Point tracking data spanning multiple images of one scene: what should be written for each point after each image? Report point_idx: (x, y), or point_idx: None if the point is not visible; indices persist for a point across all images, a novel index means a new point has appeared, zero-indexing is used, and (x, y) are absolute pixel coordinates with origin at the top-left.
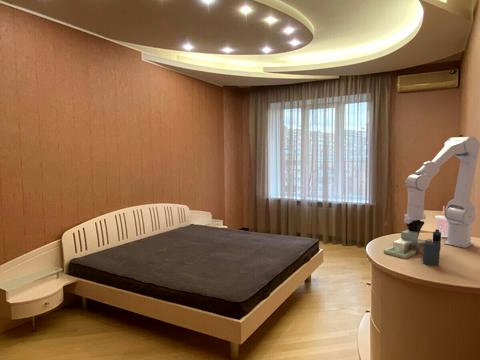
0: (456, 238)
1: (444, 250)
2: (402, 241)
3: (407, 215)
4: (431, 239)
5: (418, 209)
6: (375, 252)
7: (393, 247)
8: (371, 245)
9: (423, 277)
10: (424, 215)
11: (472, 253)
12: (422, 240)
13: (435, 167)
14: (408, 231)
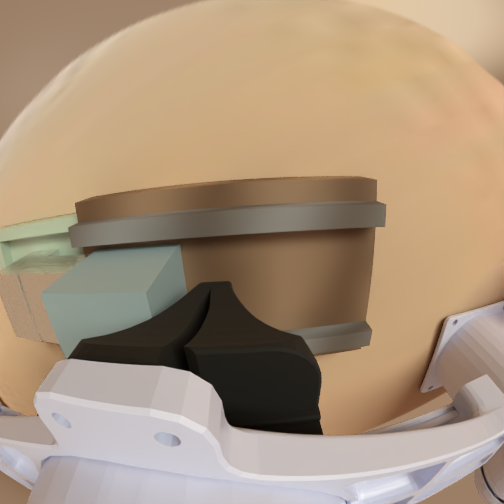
0: (451, 384)
1: (324, 378)
2: (34, 311)
3: (42, 468)
4: (362, 345)
5: None
6: None
7: (17, 262)
8: (48, 88)
9: (6, 398)
10: (426, 492)
11: (359, 428)
12: (353, 286)
13: None
14: (112, 332)
